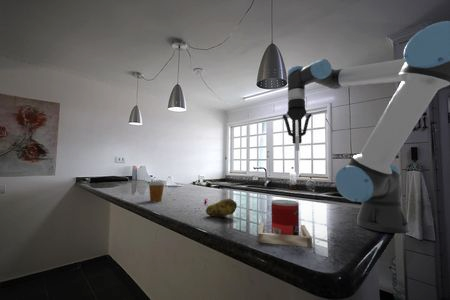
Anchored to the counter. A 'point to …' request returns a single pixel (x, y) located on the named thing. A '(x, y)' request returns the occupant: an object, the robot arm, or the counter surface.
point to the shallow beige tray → (285, 237)
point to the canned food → (285, 217)
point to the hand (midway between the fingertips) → (297, 150)
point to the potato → (222, 208)
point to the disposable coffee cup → (156, 190)
